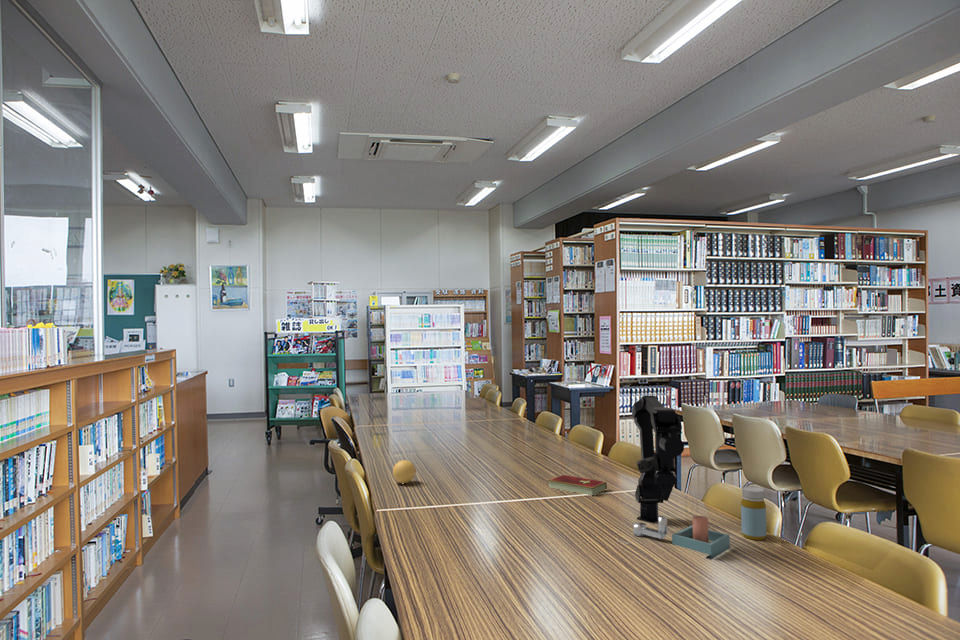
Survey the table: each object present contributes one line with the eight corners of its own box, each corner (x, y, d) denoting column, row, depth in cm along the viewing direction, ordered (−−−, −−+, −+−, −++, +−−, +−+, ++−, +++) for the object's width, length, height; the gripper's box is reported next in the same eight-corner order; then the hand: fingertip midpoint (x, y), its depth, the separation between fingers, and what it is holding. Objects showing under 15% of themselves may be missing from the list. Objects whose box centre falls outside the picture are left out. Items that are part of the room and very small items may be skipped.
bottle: (752, 541, 176) (751, 492, 177) (736, 534, 183) (735, 487, 183) (771, 539, 178) (770, 490, 178) (755, 532, 185) (754, 485, 185)
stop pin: (697, 541, 175) (696, 514, 175) (711, 544, 171) (710, 517, 172) (690, 544, 172) (689, 517, 172) (704, 548, 168) (703, 521, 169)
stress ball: (403, 489, 245) (420, 472, 248) (388, 472, 246) (405, 455, 248) (402, 487, 255) (419, 471, 257) (387, 470, 255) (404, 454, 258)
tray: (691, 538, 180) (691, 525, 180) (729, 548, 171) (729, 534, 171) (672, 548, 172) (672, 534, 172) (711, 559, 163) (710, 545, 163)
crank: (630, 534, 180) (630, 511, 180) (637, 530, 183) (637, 508, 183) (663, 543, 172) (663, 519, 172) (670, 539, 174) (669, 516, 175)
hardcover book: (562, 483, 250) (562, 473, 250) (606, 491, 237) (606, 481, 237) (547, 489, 241) (547, 479, 241) (593, 497, 227) (592, 487, 228)
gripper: (639, 443, 190) (639, 490, 189) (636, 454, 172) (637, 507, 171) (674, 444, 186) (675, 493, 186) (676, 456, 168) (677, 510, 168)
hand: (665, 500), depth 178 cm, fingers closed
